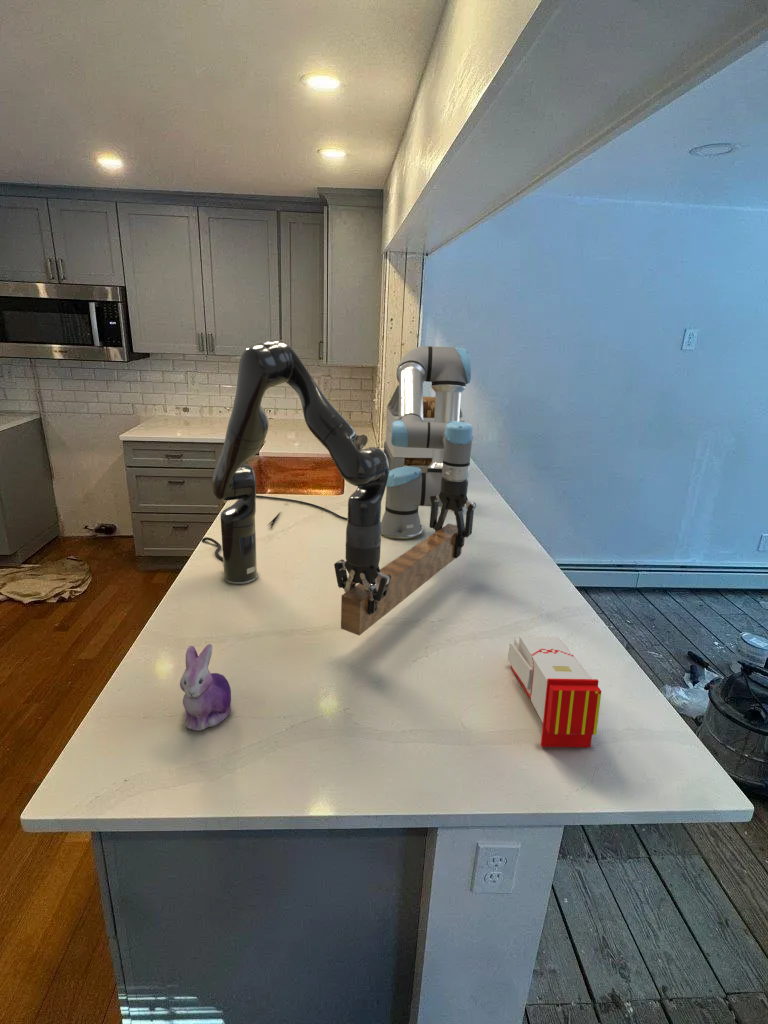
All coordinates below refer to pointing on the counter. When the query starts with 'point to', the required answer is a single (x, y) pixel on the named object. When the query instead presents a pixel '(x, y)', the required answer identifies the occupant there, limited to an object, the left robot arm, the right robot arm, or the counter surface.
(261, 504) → the counter surface
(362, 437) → the fossil
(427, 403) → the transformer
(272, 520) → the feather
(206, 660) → the figurine
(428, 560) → the post
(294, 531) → the counter surface
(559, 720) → the toy
